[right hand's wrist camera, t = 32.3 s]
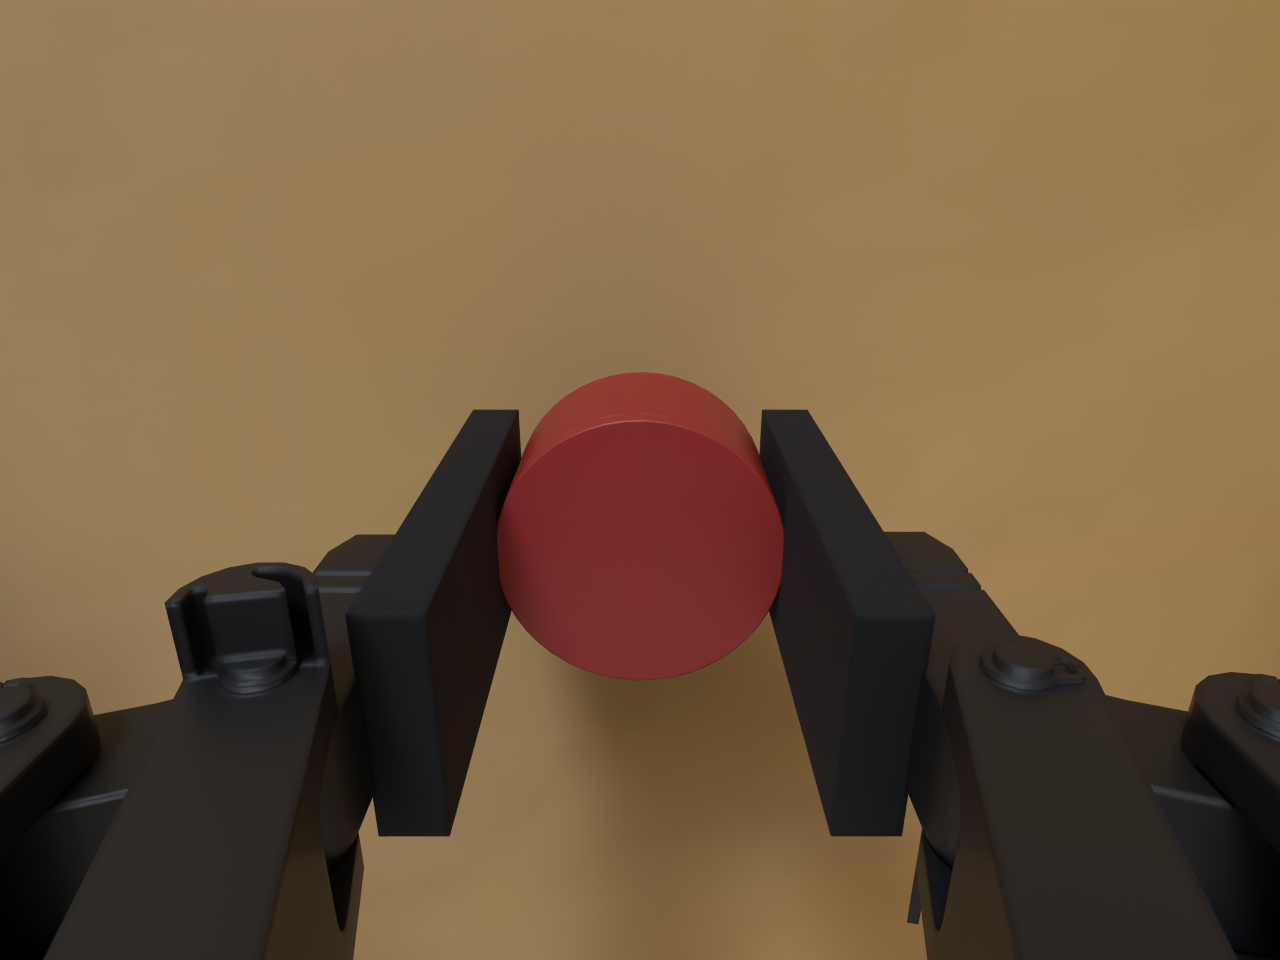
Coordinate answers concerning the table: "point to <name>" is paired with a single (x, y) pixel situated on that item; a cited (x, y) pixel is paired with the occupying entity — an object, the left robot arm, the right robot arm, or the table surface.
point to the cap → (640, 530)
